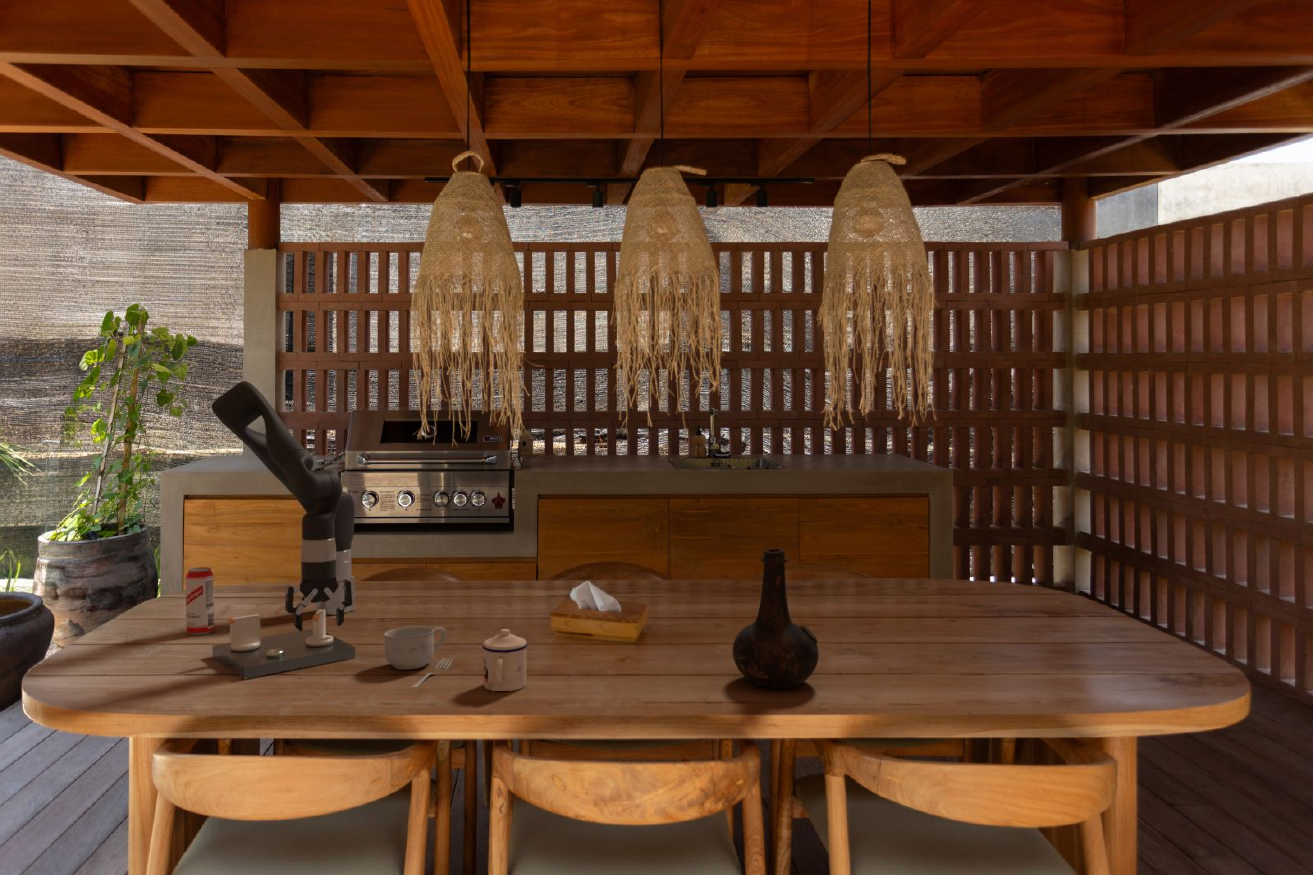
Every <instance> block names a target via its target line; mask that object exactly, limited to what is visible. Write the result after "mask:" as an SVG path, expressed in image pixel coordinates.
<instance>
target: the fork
mask: <svg viewBox="0 0 1313 875" xmlns="http://www.w3.org/2000/svg"><path fill="white" fill-rule="evenodd" d="M453 660H454V658H452V659H451V658H450V657H446V658H445V657H443V658H442V659H441V660H440V661H439V662H438V664H436V666H435V667H434V668H436V669H438V668H440V669H442V668H444V669H447V668H448V669H449V667H450V665H452V662H453ZM448 669H447V670H448ZM435 674H436V673H435V672H428V673H426V674H425V675H424V676H423V677H422V678H421V679H419V680H418V681H417V682H415V684H413V685H411V687H418V686H419V687H420V685H421V684H422V683H423V682H424V681H425V680H426V679H427V678H429V676H431V675H435ZM419 687H418V688H419Z"/></svg>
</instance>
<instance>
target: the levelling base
mask: <svg viewBox="0 0 1313 875" xmlns="http://www.w3.org/2000/svg"><path fill="white" fill-rule="evenodd" d="M326 635H330V636H333V643H331V644H329V645H325V646H307V645H306V642H305V640H306V638H308V637H311V636H313V628H310V629H309V628H308V629H304V630H303V629H302V631H298V630H297V631H293V632H292V631H291V632H286V633H279V634H275V635H269V636H267V635H266V636H262V637H261V636H260V647H259V648H257V649H254V650H249V651H233V650H231V645H230V642H228V643H226V642H225V643H221V644H216V645H214V644H213V645H211V646H212V648H211V649H212V652H211V653H212V657H213V659H215V660H217V661H218V662H219V663H220V664H222V665H223V664H224V666H225V667H227V668H228V669H229V668H230V669H231V670H230V669H229V670H230V671H232V672H233V673H234V672H235V673H234V674H236V673H237V674H238V675H237V674H236V675H237V676H238V677H240V678H241V677H242V678H241V679H243V678H244V679H245V678H251V679H254V678H253V677H256V678H258V677H257V676H261V677H263V676H262V675H266V674H270V673H276V674H279V673H278V672H281V671H286V670H290V669H296V668H301V669H304V667H306V668H310V667H309V666H311V667H315V666H314V665H316V666H320V664H322V665H325V664H326V665H327V664H330V663H331V664H332V663H337V662H341V660H342V661H345V659H347V660H352V659H356V646H354V645H353V644H350V643H348V642H346V641H344V640H342V639H340V638H338V637H336V636H334V635H332V634H330V633H328V632H326ZM296 670H297V669H296ZM286 672H287V671H286ZM281 673H282V672H281ZM266 676H267V675H266ZM244 679H243V680H244Z"/></svg>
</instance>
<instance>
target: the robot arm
mask: <svg viewBox="0 0 1313 875" xmlns="http://www.w3.org/2000/svg"><path fill="white" fill-rule="evenodd" d="M211 410H212V412H213V414H214V415H215V417H216V418H217V419H218V420H219V421H220V422H221V423H222V425H224V426H225V427H226V428H227V429H228V430H229V431H230V432H231V433H233V434H234V435H235V436H236V437H237V438H238V440H240V441H241V442H243V444H245V445H246V446H247V447H248V448H249V449H250V450H251V451H252V453H254V454H255V456H256V457H257V458H258V459H259V461H261V462H262V464H263V465H264V466H265V467H266V469H267V470H268V471H270V472H271V474H273V476H274V477H275V478H276V479H277V480H278V481H279V482H280V483H281V484H283V486H284V487H285V488H286V489H287V490H288V491H289V492H290V493H291V494H292V495H293V496H294V497H295V499H296V500H297V501H298V502H299V504H300V505H301V507H302V508H303V509H304V511H305V512H306V513H305V514H304V515H303V516H302V520H301V545H300V546H301V547H300V567H301V571H300V572H301V573H300V575H301V576H300V578H301V580H300V584H299V585H291V584H288V585H287V586H285V587H286V590H285V608H284V610H285V611H286V612H287V613H288V614H294V615H293V618H294V621H293V622H294V628H295V629H296V630H297V631H303V614H302V612H304V610H305V609H306V608H307V607H308V606H309V604H310V603H312V604H315V610H316V611H315V613H316V612H317V611H318V610H324V609H325V612H326V616H328V615H329V616H330V615H331V616H332V615H334V616H335V621H336V622H335V624H336V626H338V627H341V626H342V624H343V623H344V622H345V614H346V613H349V612H351V611H355V608H356V607H355V603H356V602H355V576H354V575H352V543H353V540H354V539H353V538H354V534H355V533H354V532H355V515H356V514H355V513H356V512H355V511H356V510H355V509H356V507H355V502H354V498H353V497H352V495H351V494H350V493H349V492H346V491H343V484H342V480H341V477H340V476H339V474H338V473H337V472H336V471H334V470H331V469H328V470H327V469H324V470H314V471H313V467H314V465H315V464H314V463H315V462H314V461H315V460H314V459H313V457H312V456H311V454H310V453H309V452H308V451H307V449H305V448H304V446H303V445H302V444H301V443H300V442H299V441H298V440H297V439H296V438H295V436H294V435H293V434H292V433H291V431H290V430H289V429H288V428H287V426H286V425H285V423H284V422H283V420H282V418H281V417H280V415H279V414H278V413H277V412H276V410H275V409H274V408H273V406H272V405H271V404H270V402H269V401H268V400H267V399H266V397H265V396H264V395H263V393H262V392H260V390H259V389H258V388H257V387H256V386H254V385H253V384H252V383H251V382H249V381H246V380H243V381H240V382H238V383H236V384H235V385H233V386H232V387H231V388H229V389H228V390H227V391H226V392H224V393H223V394H221V395H220V396H219V397H217V398H216V399H215V400H214V401H213V402H212V404H211ZM260 417H262V419H263V421H264V422H263V423H264V427H265V429H264V430H265V433H262V432H259V431H257V430H254V429H252V428H250V427H249V425H251V424H252V423H253V422H255V421H256V420H257V419H258V418H260ZM299 591H300V593H301V594H302V596H301V598H300V599H299V601H298V603H297V604H296V605H295V606H294V596H296V595H297V593H298V592H299Z"/></svg>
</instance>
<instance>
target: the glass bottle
mask: <svg viewBox="0 0 1313 875" xmlns="http://www.w3.org/2000/svg"><path fill="white" fill-rule="evenodd" d="M786 553H787V552H786V550H784V549H782V548H769V549H767V548H766V549H764V550H763V557H761V558H760V559H759V561H760V562H761V563H763V574H762V586H761V596H760V601H759V602H760V603H759V608H758V612H757V616H756V619H755V620H754V621H753V622H752V623H751V624H748V625H747V626H745V627H743V628H742V629H741V630H740V631H739V632H738V634H737V635H736V636H735V639H734V641H733V645H732V658H733V661H734V663H735V665H736V668H737V670H738V671H739V672H740V673H741V674H742V676H743V677H744V678H745V679H747V680H748V681H749V682H751V683H753V684H754V685H758V686H760V687H763V686H764V687H765V688H768V687H773V688H772V689H787V688H786V687H789V688H793V687H797V686H798V685H800V684H802V683H803V682H804V683H805V681H806V680H808V678H810V676H811V675H812V674H813V672H814V671H815V670H816V667H817V665H818V662H819V647H818V639H817V637H816V636H815V634H814V633H813V632H812V631H811V630H810V629H809V628H808V627H807V626H805V625H801V626H800V625H799V624H796V623H794V622H793V621H792V619H791V615H790V611H789V610H790V609H789V606H788V605H789V604H788V597H787V587H786V586H787V584H786V572H785V571H786V569H785V567H786V566H785V563H787V562H790V558H789V557H786ZM764 687H763V688H764Z"/></svg>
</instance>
